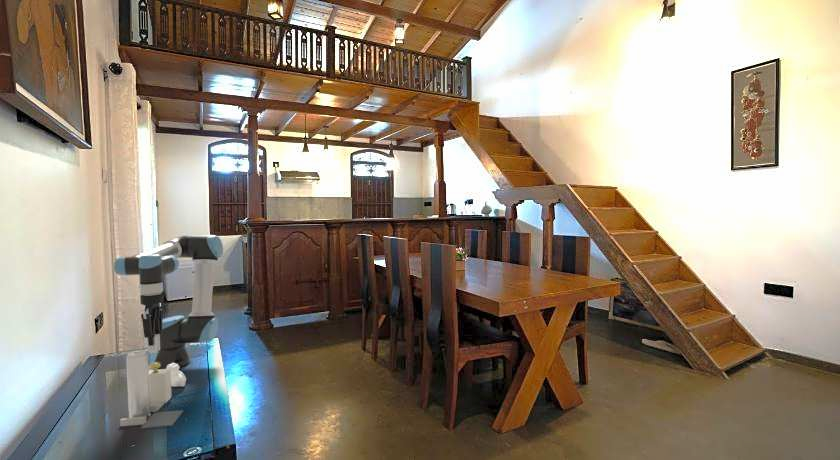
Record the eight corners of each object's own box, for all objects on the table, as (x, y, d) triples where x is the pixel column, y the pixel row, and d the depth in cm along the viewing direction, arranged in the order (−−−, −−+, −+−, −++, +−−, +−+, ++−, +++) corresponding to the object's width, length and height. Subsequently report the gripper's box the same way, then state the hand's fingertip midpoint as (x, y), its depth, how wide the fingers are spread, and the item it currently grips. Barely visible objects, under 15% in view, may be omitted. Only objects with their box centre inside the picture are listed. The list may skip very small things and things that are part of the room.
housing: (147, 399, 161) (146, 370, 161) (171, 397, 163) (170, 368, 162) (118, 426, 141) (117, 393, 141) (146, 424, 143) (145, 391, 142)
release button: (152, 370, 160) (152, 362, 160) (162, 369, 161) (161, 361, 161) (148, 373, 157) (147, 365, 157) (158, 373, 158) (157, 365, 157)
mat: (154, 414, 150) (154, 412, 150) (183, 411, 151) (183, 410, 151) (140, 428, 140) (140, 427, 140) (171, 425, 142) (171, 424, 142)
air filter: (139, 423, 143) (136, 356, 142) (124, 421, 144) (121, 354, 143) (154, 414, 150) (151, 349, 148) (140, 412, 151) (137, 348, 149)
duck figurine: (174, 385, 178) (154, 370, 173) (188, 371, 182) (170, 356, 177) (179, 395, 169) (159, 379, 164) (194, 380, 173) (175, 364, 168)
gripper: (150, 289, 164) (153, 345, 165) (130, 298, 149) (133, 359, 150) (170, 289, 165) (172, 344, 167) (153, 297, 150) (155, 358, 152)
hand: (154, 351), depth 158 cm, fingers open, 2 cm apart
